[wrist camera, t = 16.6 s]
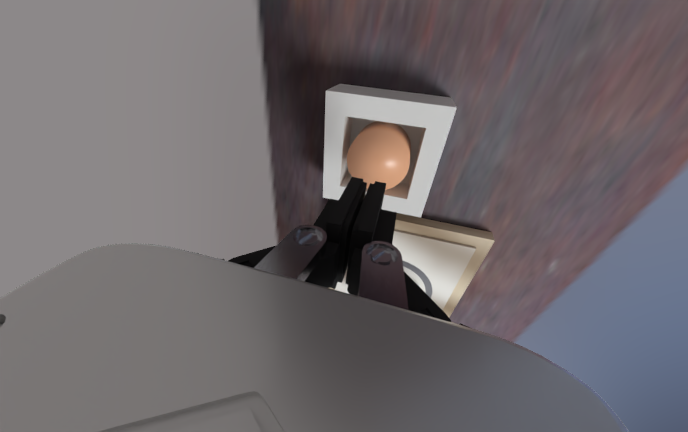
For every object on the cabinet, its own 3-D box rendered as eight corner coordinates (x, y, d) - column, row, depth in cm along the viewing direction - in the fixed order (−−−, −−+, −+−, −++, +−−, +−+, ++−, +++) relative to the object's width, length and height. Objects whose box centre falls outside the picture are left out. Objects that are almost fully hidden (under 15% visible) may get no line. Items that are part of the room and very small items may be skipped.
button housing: (420, 195, 19) (420, 217, 16) (334, 179, 20) (322, 197, 18) (451, 97, 15) (456, 107, 12) (340, 83, 16) (325, 90, 13)
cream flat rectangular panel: (432, 336, 29) (433, 346, 28) (327, 306, 31) (324, 315, 30) (491, 232, 19) (495, 242, 18) (333, 199, 21) (329, 207, 20)
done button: (403, 179, 17) (401, 195, 15) (352, 170, 18) (344, 184, 16) (417, 125, 15) (416, 136, 13) (357, 116, 16) (349, 125, 14)
